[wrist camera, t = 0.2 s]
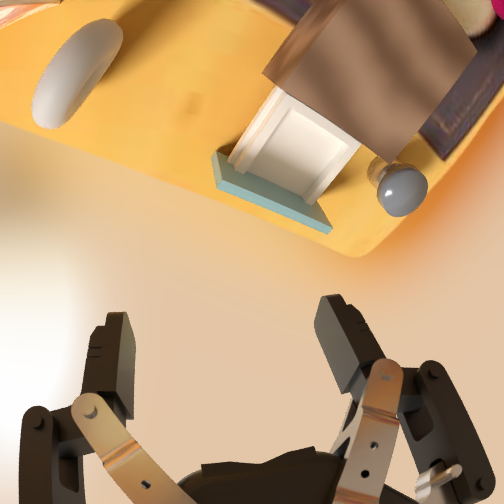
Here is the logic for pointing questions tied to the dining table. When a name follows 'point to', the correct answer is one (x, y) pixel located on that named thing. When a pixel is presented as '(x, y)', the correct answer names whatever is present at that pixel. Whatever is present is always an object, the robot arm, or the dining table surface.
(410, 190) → the grey domed disc
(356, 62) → the housing
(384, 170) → the shiny metal cylinder
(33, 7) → the coffeecake box
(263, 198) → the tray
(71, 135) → the dining table surface
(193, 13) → the dining table surface
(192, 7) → the dining table surface
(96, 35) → the donut
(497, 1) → the pepper mill
